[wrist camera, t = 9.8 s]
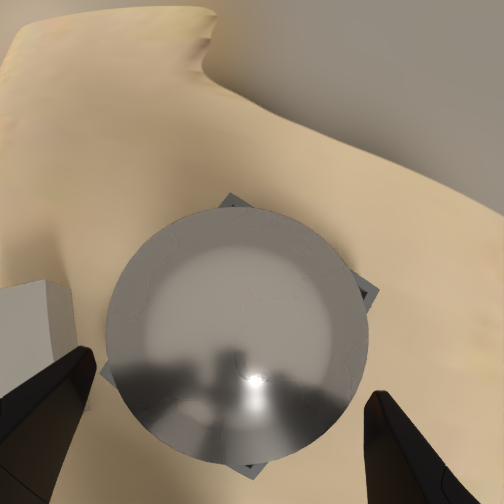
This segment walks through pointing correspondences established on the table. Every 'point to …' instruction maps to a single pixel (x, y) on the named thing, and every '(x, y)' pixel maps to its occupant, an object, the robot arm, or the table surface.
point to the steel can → (237, 336)
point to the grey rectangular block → (34, 330)
